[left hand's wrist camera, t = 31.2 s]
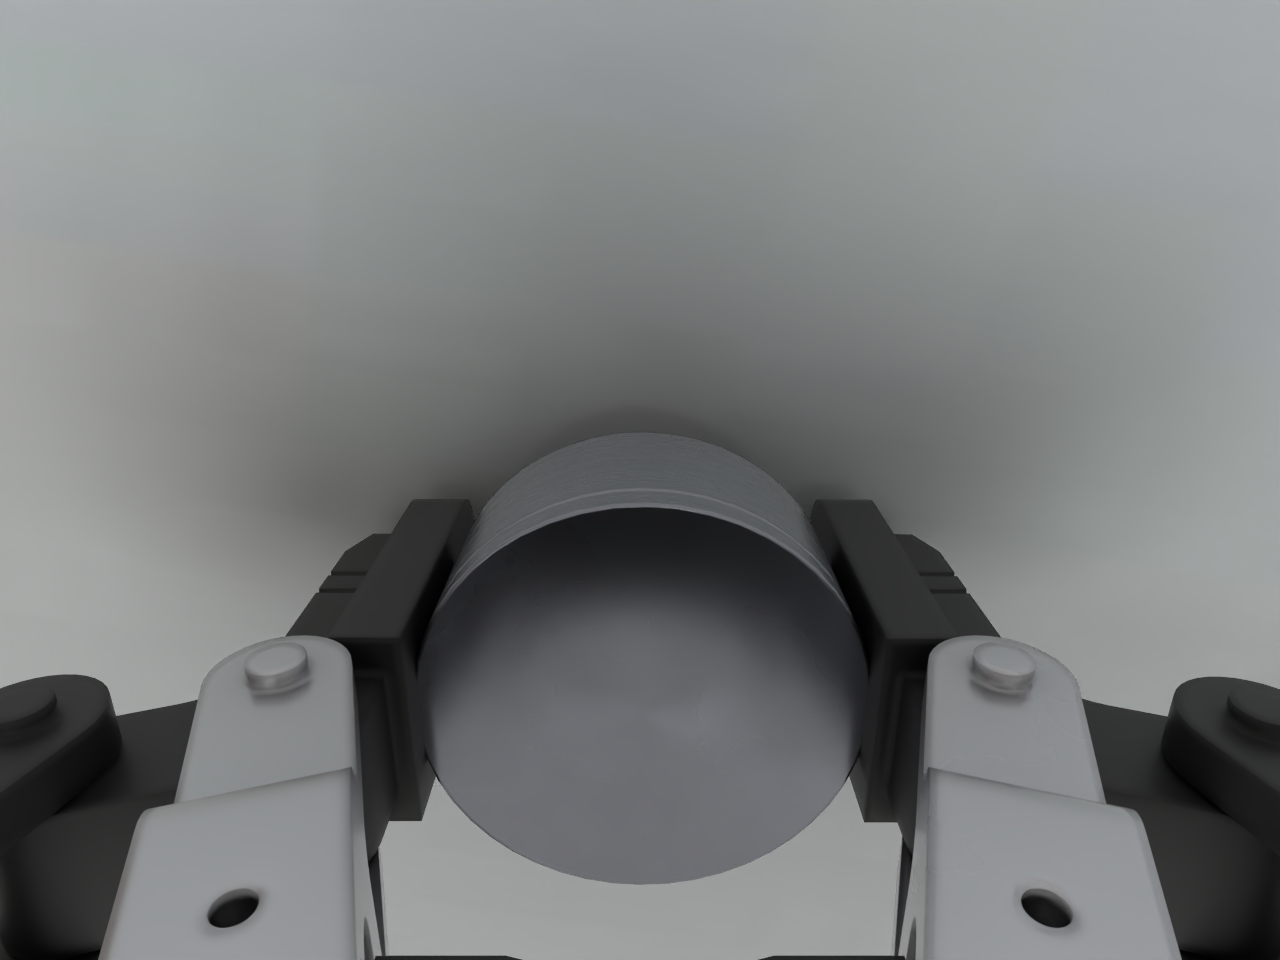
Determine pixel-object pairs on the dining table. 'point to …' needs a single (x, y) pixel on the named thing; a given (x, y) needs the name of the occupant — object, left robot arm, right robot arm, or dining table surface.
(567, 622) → the lid
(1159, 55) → the dining table surface
